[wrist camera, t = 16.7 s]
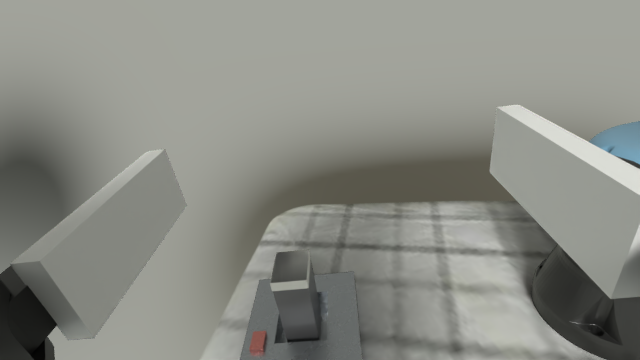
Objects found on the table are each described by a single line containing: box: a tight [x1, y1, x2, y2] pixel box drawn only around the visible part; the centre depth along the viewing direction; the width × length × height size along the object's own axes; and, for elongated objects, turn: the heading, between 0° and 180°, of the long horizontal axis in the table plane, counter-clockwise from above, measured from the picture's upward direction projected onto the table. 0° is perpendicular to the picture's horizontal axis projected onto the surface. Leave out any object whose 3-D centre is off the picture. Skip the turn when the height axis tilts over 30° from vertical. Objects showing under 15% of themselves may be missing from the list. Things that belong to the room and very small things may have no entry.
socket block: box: [240, 272, 362, 360], centre depth 43 cm, size 14×14×4 cm
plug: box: [270, 249, 321, 343], centre depth 41 cm, size 4×5×11 cm
